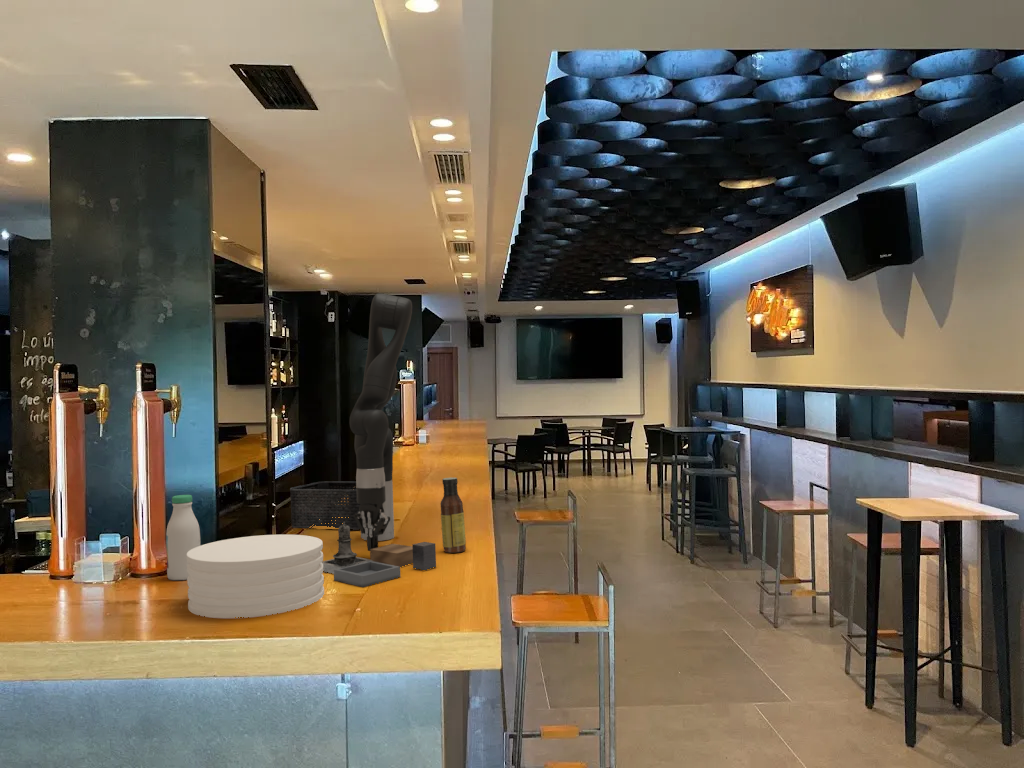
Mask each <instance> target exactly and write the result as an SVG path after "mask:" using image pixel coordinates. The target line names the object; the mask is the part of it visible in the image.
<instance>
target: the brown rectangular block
mask: <svg viewBox="0 0 1024 768" xmlns="http://www.w3.org/2000/svg"><path fill="white" fill-rule="evenodd" d="M369 555H370V560H372V561H374V562H379V563H384V564H389V565H394V566H399V567H401V568H403V567H402V566H404V567H406V566H405V565H408V564H411V563H413V548H412V545H406V544H397V543H391V544H385V545H382V546H378V547H377V548H373V549H370V551H369ZM411 565H412V564H411ZM408 566H409V565H408Z"/></svg>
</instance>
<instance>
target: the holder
mask: <svg viewBox="0 0 1024 768" xmlns="http://www.w3.org/2000/svg"><path fill="white" fill-rule="evenodd" d="M368 561H372V560H370V559H369V558H363V557H359V556H356V559H355V562H354V563H353V564H349V565H344V566H340V565H337V564H336V562H335V560H334V558H331V559H327V560H323V561H322V563H323V569H324V572H323V573H327V572H328V573H327V574H331V573H332V574H333V575H334V570H335V569H339V568H343V567H347V566H351V565H356V564H360V563H364V562H368Z"/></svg>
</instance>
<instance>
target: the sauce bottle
mask: <svg viewBox="0 0 1024 768" xmlns="http://www.w3.org/2000/svg"><path fill="white" fill-rule="evenodd" d="M441 480H442V485H443V496H442V499H441V501H440V520H441V521H440V522H441V535H442V536H441V539H442V548H443V551H444V552H445V553H446V554H449V553H450V554H456V553H458V554H459V553H462V552H465V550H466V549H467V546H466V544H467V541H466V540H467V539H466V530H465V529H466V527H465V525H466V524H465V513H464V506H463V505H464V504H463V500H462V499H461V497H460V496H459V491H458V482H459V481H458V478H457V477H444V478H442V479H441Z"/></svg>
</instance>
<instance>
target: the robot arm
mask: <svg viewBox="0 0 1024 768" xmlns="http://www.w3.org/2000/svg"><path fill="white" fill-rule="evenodd" d="M369 312H370V313H369V323H368V325H369V329H368V344H367V345H368V346H367V352H366V359H365V367H364V373H363V382H362V391H361V393H360V395H359V396H358V398H357V400H356V402H355V405H354V407H353V408H352V409H351V410H352V411H351V413H350V416H349V428H350V430H351V432H352V433H353V434H354V444H353V445H354V452H355V453H354V454H355V455H356V456H355V457H356V474H355V475H356V476H355V480H356V481H355V482H356V491H357V503H358V504H360V508H359V512H358V514H354V518H355V520H356V522H357V524H358V527H359V529H360V530H359V531H360V538H361V539H364V540H363V541H366V540H367V541H366V547H367V551H369V552H370V549H373V548H377V547H379V542H380V541H382V542H383V541H387V540H392V539H394V538H395V519H394V518H395V517H394V490H393V489H394V488H393V487H394V485H393V483H394V482H393V470H394V467H393V466H394V463H393V458H394V457H393V456H394V438H393V437H394V436H393V433H392V430H391V428H390V427H389V426H390V425H389V418H388V415H387V414H386V413H385V412H384V411H383V409H384V407H386V405H387V404H388V403H389V401H390V400H391V399H392V397H393V396H394V394H395V390H396V384H397V379H398V370H397V369H398V368H397V366H396V365H397V362H398V360H399V357H400V354H401V351H402V350H403V349H402V348H403V346H404V343H405V340H406V336H407V333H408V331H409V328H410V323H411V320H412V315H413V302H412V300H411V299H409V298H406V297H401V296H396V295H391V294H387V293H376V294H375V295H374V296H373V298H372V300H371V305H370V311H369ZM383 329H386V330H392V331H394V334H393V336H392V339H391V340H390V342H389V343H388V344H387V345H386V342H385V340H384V335H383Z"/></svg>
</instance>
